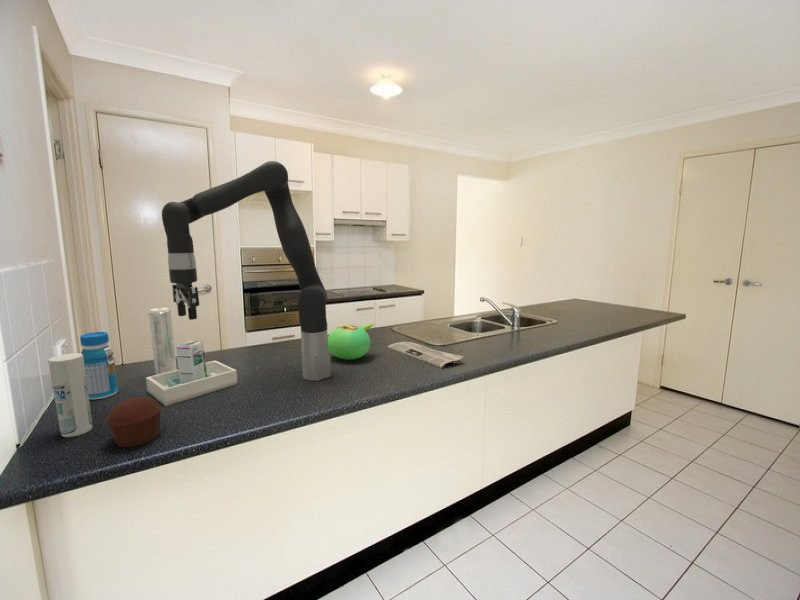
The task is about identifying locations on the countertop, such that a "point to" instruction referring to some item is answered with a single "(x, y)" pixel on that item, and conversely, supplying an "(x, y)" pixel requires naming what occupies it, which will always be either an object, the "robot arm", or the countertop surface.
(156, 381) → the bin
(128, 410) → the muffin
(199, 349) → the syrup box
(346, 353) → the green rounded pot shape
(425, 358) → the newspaper
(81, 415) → the spray can
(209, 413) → the countertop surface
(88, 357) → the blue supplement bottle
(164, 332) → the silver metal cylinder
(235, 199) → the robot arm
